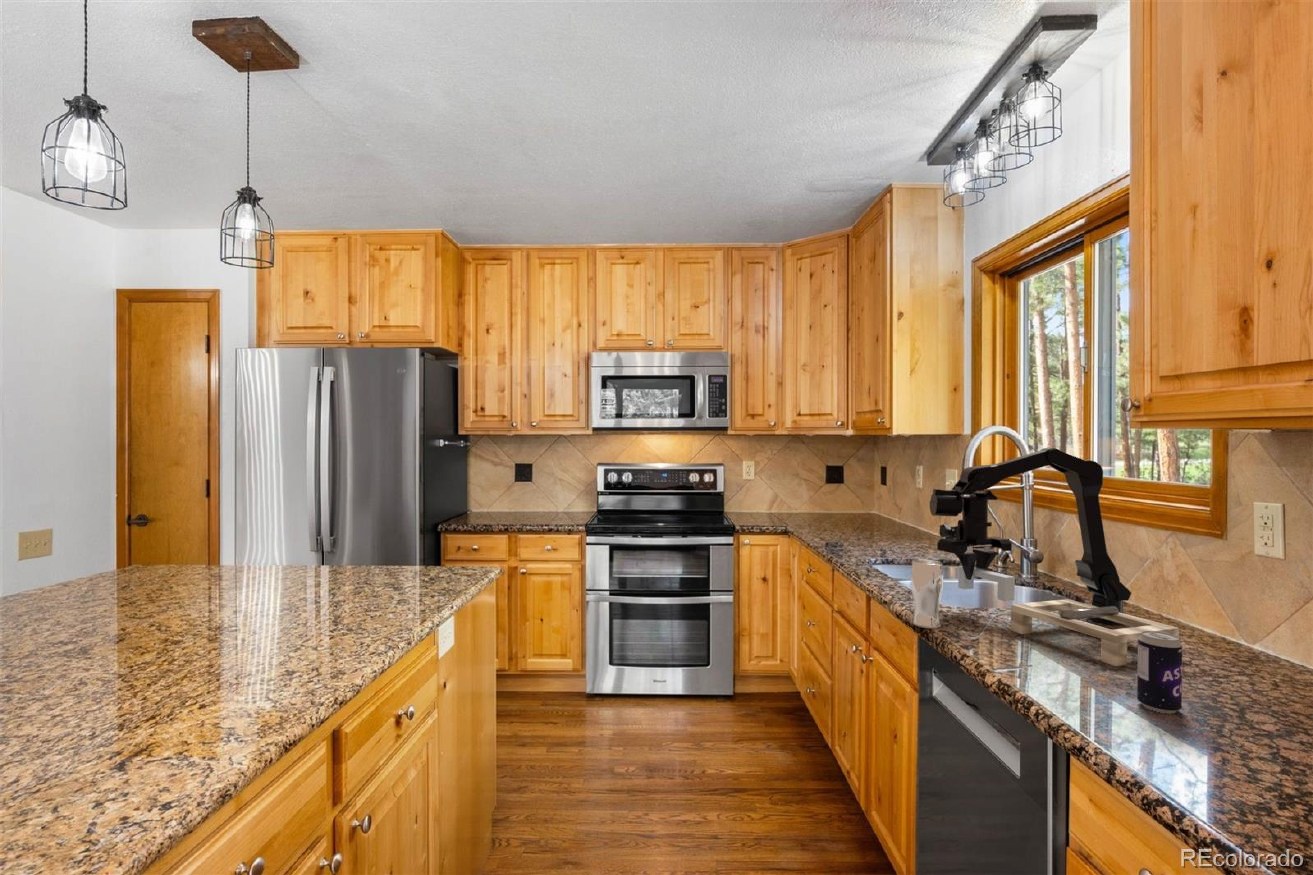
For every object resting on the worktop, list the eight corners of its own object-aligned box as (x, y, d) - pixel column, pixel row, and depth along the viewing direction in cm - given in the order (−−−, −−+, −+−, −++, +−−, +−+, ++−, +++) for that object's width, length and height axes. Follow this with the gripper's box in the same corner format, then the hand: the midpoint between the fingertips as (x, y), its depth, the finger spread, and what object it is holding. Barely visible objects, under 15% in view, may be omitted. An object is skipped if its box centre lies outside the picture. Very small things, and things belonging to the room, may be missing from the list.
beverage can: (1164, 717, 99) (1165, 642, 99) (1128, 703, 105) (1129, 631, 105) (1190, 713, 101) (1191, 639, 101) (1153, 699, 106) (1154, 629, 106)
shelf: (1067, 624, 151) (1068, 599, 151) (1178, 657, 128) (1178, 628, 128) (1010, 630, 145) (1010, 604, 145) (1116, 666, 122) (1116, 635, 122)
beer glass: (911, 627, 146) (912, 563, 146) (909, 619, 153) (910, 557, 153) (944, 630, 144) (945, 565, 144) (940, 622, 151) (941, 559, 151)
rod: (1109, 614, 140) (1109, 605, 140) (1118, 616, 138) (1118, 607, 138) (1060, 619, 135) (1060, 609, 135) (1068, 621, 133) (1068, 612, 133)
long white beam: (967, 586, 161) (967, 565, 161) (1014, 600, 148) (1014, 577, 148) (958, 587, 160) (958, 566, 160) (1004, 601, 147) (1005, 577, 147)
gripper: (978, 512, 168) (977, 570, 168) (921, 514, 162) (920, 574, 162) (1013, 517, 158) (1012, 579, 158) (955, 519, 152) (954, 584, 152)
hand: (974, 579), depth 158 cm, fingers closed on long white beam, 3 cm apart
